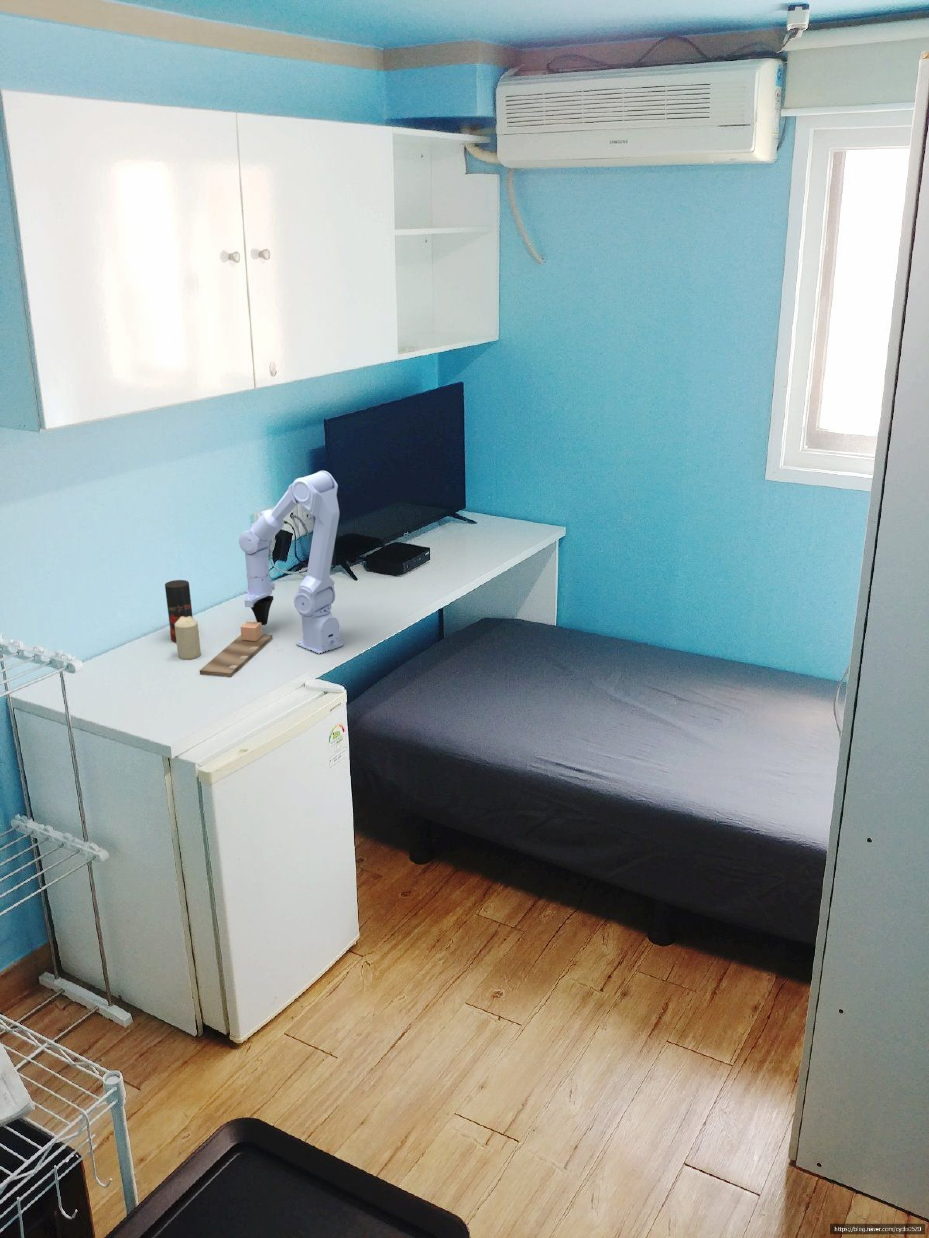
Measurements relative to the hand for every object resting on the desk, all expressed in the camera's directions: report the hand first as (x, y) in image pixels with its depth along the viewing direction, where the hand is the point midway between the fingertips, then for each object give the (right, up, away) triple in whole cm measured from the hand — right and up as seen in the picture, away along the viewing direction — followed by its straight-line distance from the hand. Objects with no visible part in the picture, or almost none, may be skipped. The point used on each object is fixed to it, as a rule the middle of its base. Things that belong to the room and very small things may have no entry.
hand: (262, 624), depth 279 cm
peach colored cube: (-2, -3, -6) cm, 7 cm away
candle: (-16, -8, -13) cm, 22 cm away
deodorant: (-20, -4, -2) cm, 21 cm away
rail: (-4, -8, -14) cm, 16 cm away
